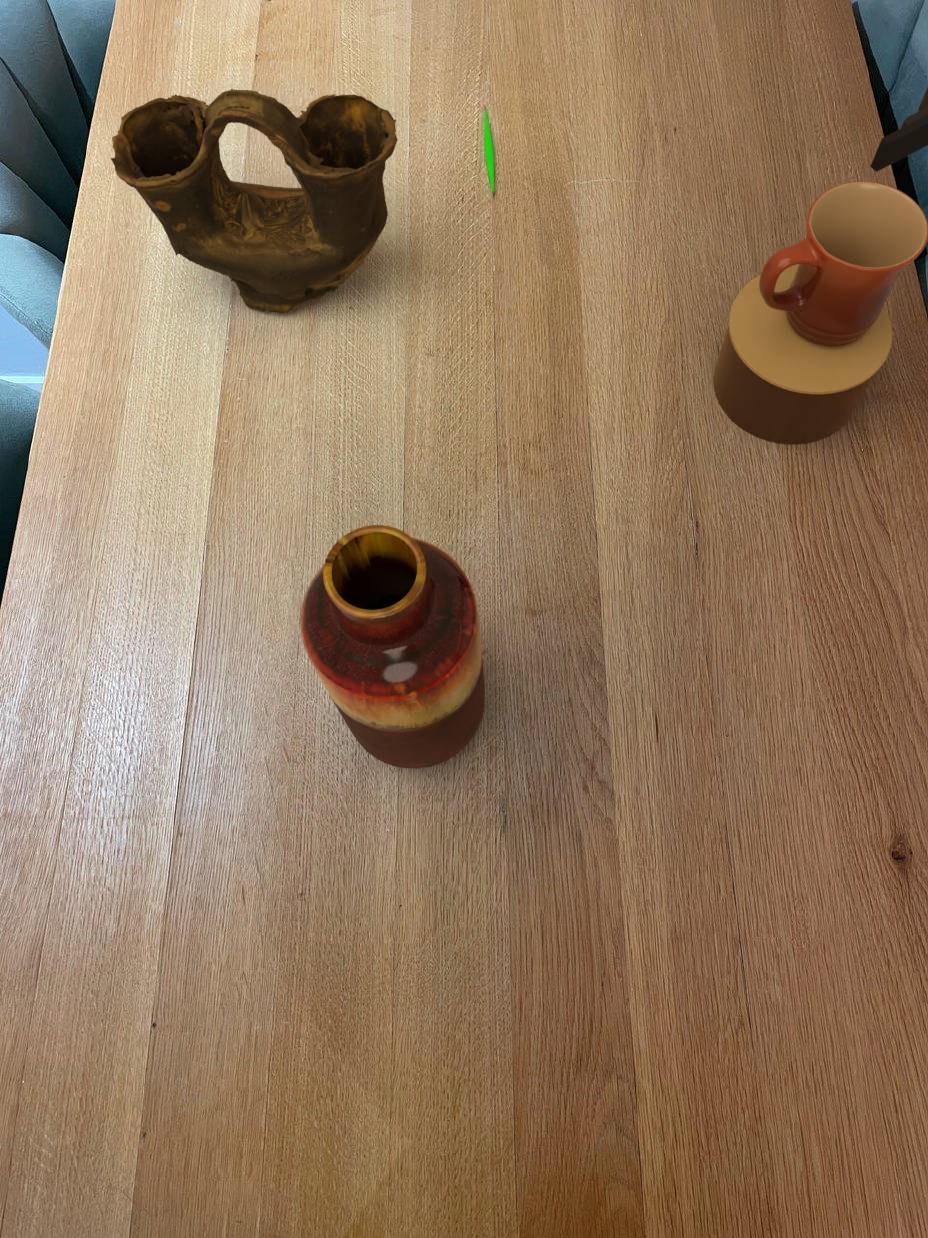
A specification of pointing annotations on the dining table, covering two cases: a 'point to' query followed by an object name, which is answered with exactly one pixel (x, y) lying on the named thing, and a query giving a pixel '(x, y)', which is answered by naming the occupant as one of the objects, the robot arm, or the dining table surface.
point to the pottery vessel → (264, 189)
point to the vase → (397, 645)
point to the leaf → (489, 151)
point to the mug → (846, 261)
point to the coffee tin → (791, 371)
